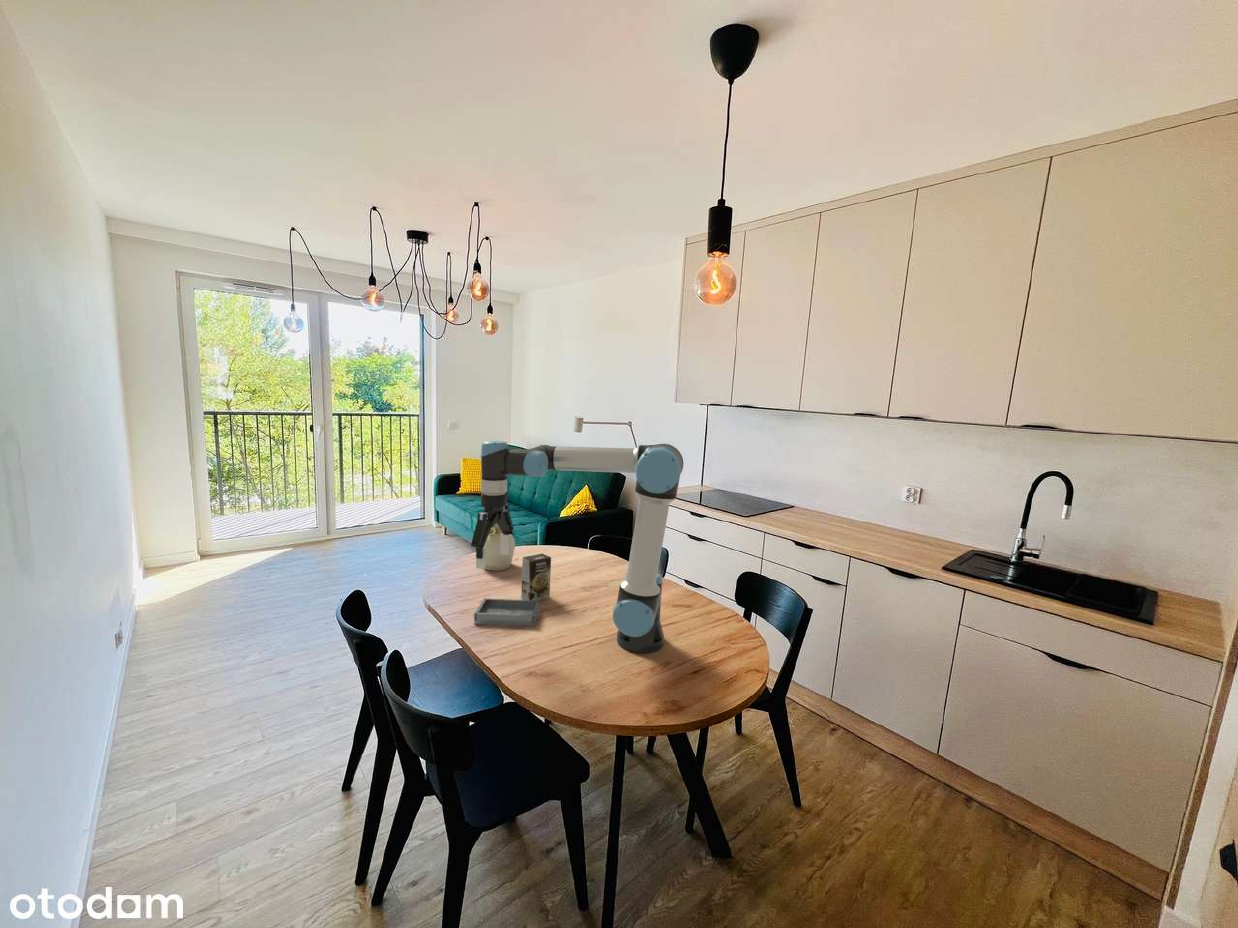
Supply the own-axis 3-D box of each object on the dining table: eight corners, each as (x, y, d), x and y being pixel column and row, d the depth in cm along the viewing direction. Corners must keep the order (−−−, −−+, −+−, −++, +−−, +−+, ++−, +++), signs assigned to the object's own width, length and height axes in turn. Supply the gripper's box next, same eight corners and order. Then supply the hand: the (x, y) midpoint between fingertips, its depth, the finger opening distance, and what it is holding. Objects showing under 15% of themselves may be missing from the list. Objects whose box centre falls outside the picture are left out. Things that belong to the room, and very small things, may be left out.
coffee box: (529, 603, 183) (530, 561, 180) (520, 597, 187) (521, 556, 185) (550, 597, 189) (551, 557, 186) (541, 592, 193) (542, 552, 191)
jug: (495, 575, 209) (496, 517, 205) (471, 566, 217) (471, 510, 213) (521, 565, 221) (523, 510, 218) (497, 557, 230) (498, 505, 226)
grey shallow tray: (539, 609, 178) (540, 600, 177) (534, 626, 166) (534, 616, 165) (483, 607, 177) (483, 598, 177) (474, 623, 165) (474, 613, 165)
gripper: (504, 484, 161) (503, 547, 164) (458, 499, 137) (458, 572, 140) (525, 486, 159) (523, 550, 162) (481, 502, 135) (481, 576, 138)
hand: (493, 561), depth 151 cm, fingers open, 13 cm apart
